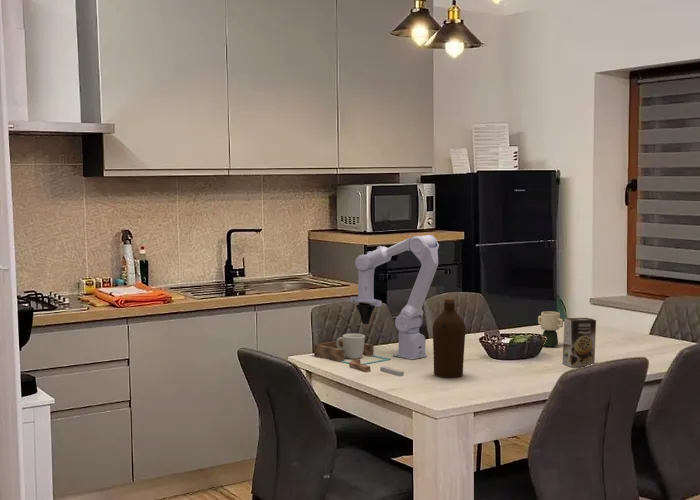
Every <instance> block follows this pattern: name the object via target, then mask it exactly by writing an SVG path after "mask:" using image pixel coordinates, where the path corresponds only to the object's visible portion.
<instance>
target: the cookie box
mask: <svg viewBox="0 0 700 500" xmlns="http://www.w3.org/2000/svg"><path fill="white" fill-rule="evenodd" d="M596 330H597V320H596V319H593V318H589V317H564V320H563V341H562V343H563V345H562V365H564V366H568V367H570V368H583V367H582V366H587V365H591V364H594V365H595V364H596V363H595V360H596V359H595V358H596V357H595V356H596V355H595V354H596V336H597V335H596V334H597V333H596Z"/></svg>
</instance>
